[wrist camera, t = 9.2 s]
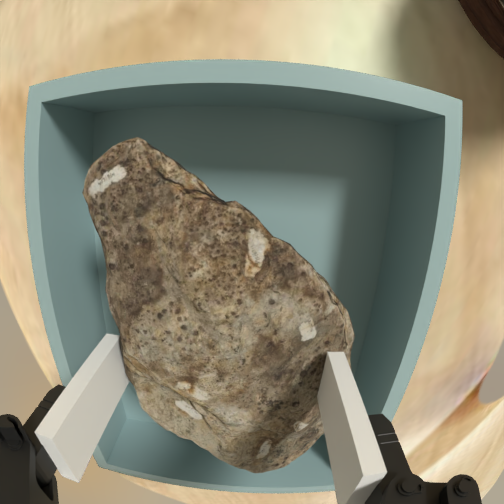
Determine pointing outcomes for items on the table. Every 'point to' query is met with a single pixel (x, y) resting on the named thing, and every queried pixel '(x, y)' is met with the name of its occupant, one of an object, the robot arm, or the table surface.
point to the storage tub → (264, 208)
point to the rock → (212, 311)
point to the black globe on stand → (487, 20)
